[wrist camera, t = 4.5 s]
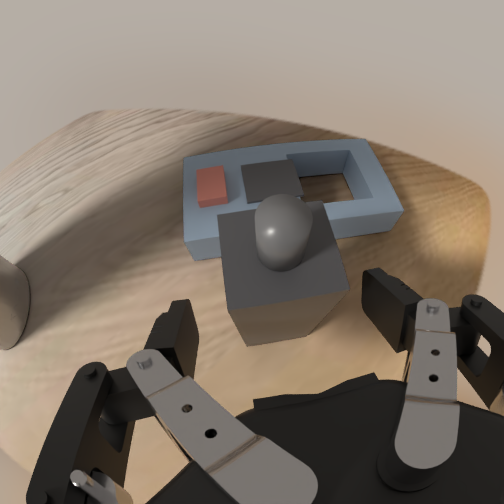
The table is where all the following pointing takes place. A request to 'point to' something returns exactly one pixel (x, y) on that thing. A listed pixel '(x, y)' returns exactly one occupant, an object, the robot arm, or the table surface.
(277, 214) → the black plug
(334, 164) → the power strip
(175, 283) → the table surface
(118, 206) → the table surface
